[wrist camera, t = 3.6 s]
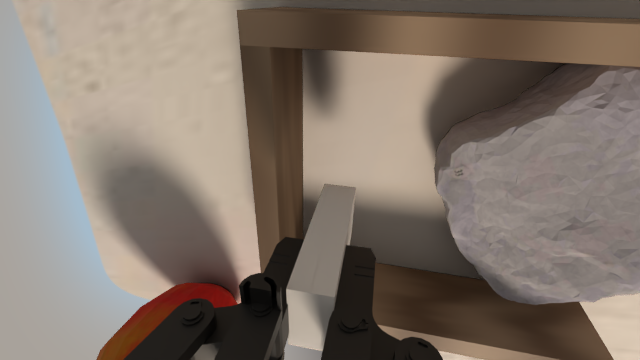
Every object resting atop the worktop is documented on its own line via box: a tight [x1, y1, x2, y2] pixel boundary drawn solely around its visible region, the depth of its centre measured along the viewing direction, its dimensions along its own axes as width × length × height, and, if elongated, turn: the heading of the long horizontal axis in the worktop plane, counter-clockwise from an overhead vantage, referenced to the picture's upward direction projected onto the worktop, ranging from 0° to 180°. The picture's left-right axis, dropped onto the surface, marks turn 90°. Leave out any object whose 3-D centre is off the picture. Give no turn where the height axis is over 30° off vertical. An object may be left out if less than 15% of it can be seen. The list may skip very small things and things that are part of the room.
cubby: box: [237, 7, 640, 360], centre depth 17 cm, size 19×17×5 cm
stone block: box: [434, 63, 640, 305], centre depth 17 cm, size 12×5×10 cm
